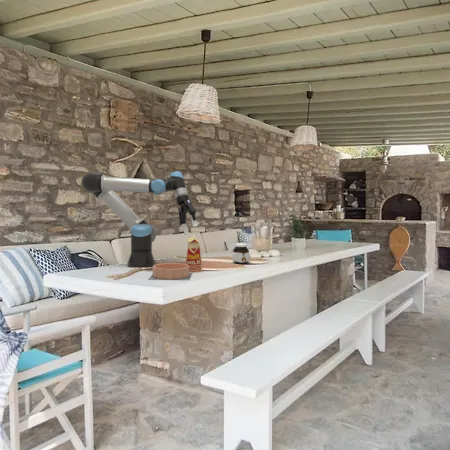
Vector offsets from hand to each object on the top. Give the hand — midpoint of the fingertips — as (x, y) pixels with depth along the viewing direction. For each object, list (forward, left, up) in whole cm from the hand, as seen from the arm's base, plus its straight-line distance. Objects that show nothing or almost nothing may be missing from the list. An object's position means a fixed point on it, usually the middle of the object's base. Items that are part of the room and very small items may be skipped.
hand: (191, 230), depth 255 cm
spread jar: (+30, +12, -21) cm, 38 cm away
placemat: (-7, -36, -20) cm, 42 cm away
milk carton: (+3, -21, -21) cm, 29 cm away
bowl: (-7, -36, -20) cm, 42 cm away
